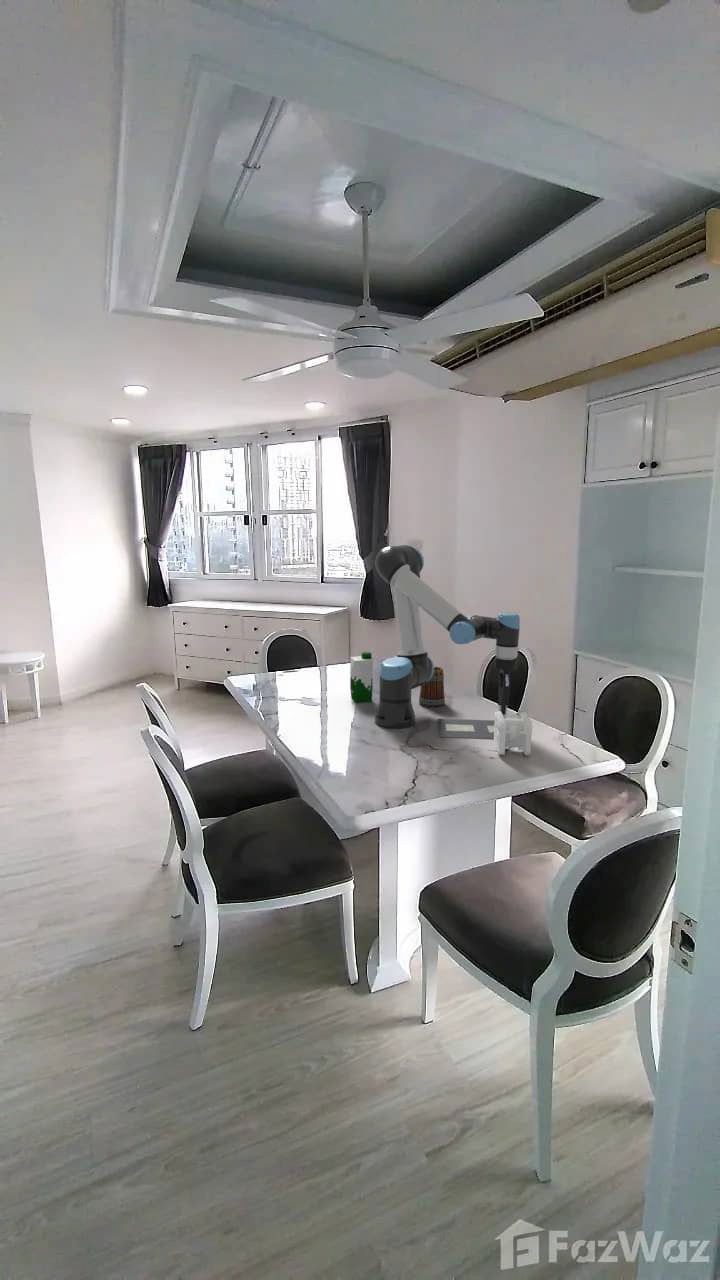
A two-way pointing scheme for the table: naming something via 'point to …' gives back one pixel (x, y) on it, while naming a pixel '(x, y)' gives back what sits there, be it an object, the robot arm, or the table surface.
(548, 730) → the table surface
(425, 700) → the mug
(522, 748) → the cable organizer
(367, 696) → the milk carton
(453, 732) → the panel
